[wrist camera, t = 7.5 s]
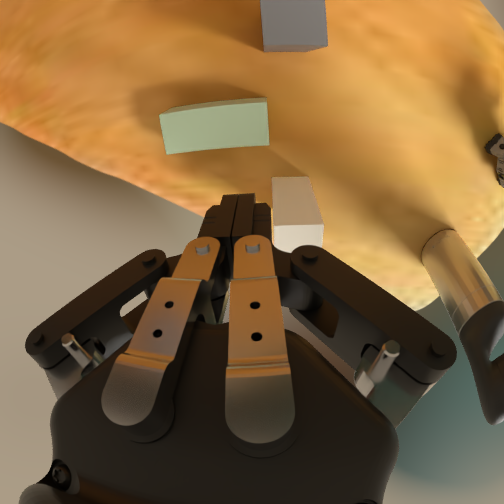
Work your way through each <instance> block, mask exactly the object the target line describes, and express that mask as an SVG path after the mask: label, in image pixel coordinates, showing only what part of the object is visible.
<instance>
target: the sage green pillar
mask: <svg viewBox="0 0 504 504" xmlns="http://www.w3.org/2000/svg"><path fill="white" fill-rule="evenodd" d="M159 118H160V124H161V129H162V135H163V140H164V145H165V150H166V155H168V154H175V153H183V152H191V151H200V150H209V149H220V148H232V147H246V146H264V145H269V128H268V111H267V97H262V98H246V99H234V100H223V101H214V102H206V103H199V104H192V105H185V106H179V107H173V108H170V109H169V110H167V111H165V112H163V113H161V114H160V115H159Z"/></svg>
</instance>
